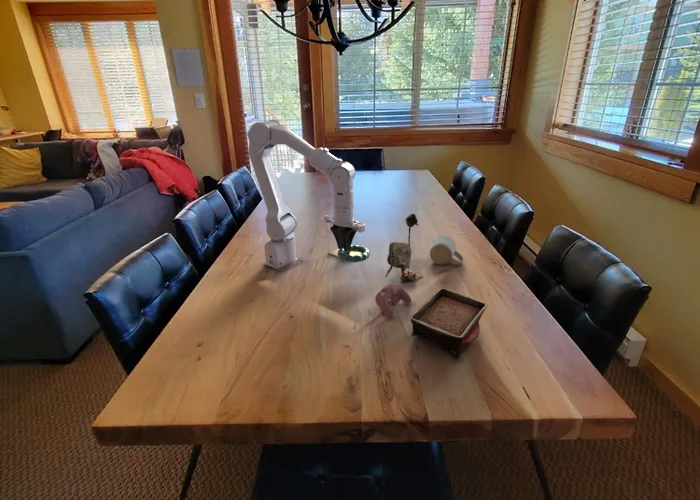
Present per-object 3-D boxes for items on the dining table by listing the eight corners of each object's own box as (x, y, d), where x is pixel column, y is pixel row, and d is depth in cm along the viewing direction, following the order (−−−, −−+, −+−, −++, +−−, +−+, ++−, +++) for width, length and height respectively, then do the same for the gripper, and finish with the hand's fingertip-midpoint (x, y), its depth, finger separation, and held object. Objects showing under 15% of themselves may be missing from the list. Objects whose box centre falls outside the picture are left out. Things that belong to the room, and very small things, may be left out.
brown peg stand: (348, 263, 121) (347, 245, 119) (328, 256, 127) (327, 239, 124) (365, 254, 127) (365, 237, 125) (345, 248, 133) (345, 231, 130)
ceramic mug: (428, 264, 119) (430, 242, 116) (431, 254, 126) (433, 233, 123) (462, 269, 116) (465, 246, 113) (463, 258, 123) (466, 237, 120)
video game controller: (400, 303, 101) (391, 279, 100) (414, 302, 98) (404, 277, 97) (379, 320, 94) (369, 294, 93) (393, 318, 91) (383, 292, 90)
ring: (355, 266, 106) (355, 260, 105) (331, 257, 112) (330, 251, 111) (376, 255, 112) (376, 249, 112) (352, 247, 118) (352, 241, 118)
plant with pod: (383, 274, 114) (384, 211, 106) (420, 274, 114) (424, 211, 106) (385, 287, 106) (387, 221, 98) (425, 287, 106) (430, 220, 98)
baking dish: (490, 339, 87) (495, 299, 84) (455, 370, 74) (460, 323, 71) (434, 321, 96) (438, 284, 94) (395, 345, 83) (397, 303, 80)
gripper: (371, 207, 107) (371, 250, 112) (334, 198, 116) (336, 239, 121) (355, 213, 102) (356, 258, 107) (318, 203, 111) (320, 245, 116)
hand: (344, 248), depth 114 cm, fingers closed on ring, 2 cm apart
